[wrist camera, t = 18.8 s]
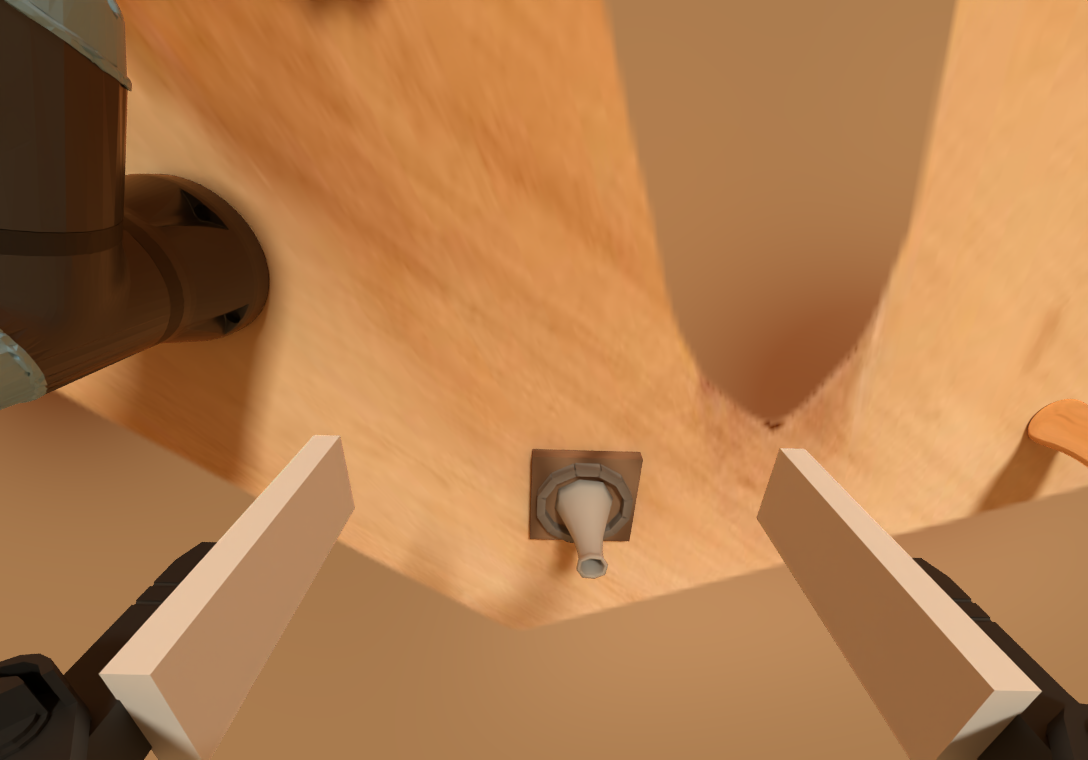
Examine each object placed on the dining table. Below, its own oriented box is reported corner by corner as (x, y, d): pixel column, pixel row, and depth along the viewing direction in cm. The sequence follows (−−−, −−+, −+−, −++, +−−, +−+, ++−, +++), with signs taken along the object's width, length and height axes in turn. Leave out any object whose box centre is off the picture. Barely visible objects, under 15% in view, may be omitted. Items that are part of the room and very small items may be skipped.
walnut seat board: (530, 530, 56) (529, 545, 54) (532, 449, 50) (532, 462, 48) (627, 532, 56) (630, 548, 54) (640, 452, 51) (645, 466, 48)
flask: (615, 518, 53) (630, 587, 44) (559, 526, 54) (563, 596, 45) (609, 473, 50) (623, 537, 41) (549, 482, 51) (551, 547, 42)
